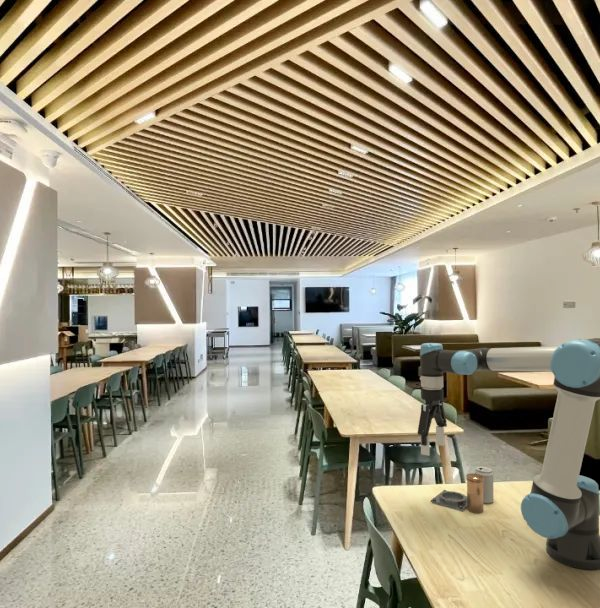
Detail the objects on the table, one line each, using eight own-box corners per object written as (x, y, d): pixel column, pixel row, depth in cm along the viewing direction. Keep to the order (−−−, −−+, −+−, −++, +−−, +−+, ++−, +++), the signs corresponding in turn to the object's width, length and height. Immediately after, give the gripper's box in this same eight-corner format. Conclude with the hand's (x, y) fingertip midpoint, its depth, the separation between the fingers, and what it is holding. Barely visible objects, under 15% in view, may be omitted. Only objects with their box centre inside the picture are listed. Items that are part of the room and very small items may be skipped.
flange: (474, 500, 173) (474, 495, 173) (462, 511, 163) (462, 505, 164) (443, 492, 180) (443, 487, 180) (430, 502, 171) (430, 497, 171)
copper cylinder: (486, 509, 165) (486, 475, 165) (480, 515, 161) (480, 480, 161) (470, 505, 169) (469, 472, 169) (464, 510, 164) (463, 476, 164)
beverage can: (478, 496, 177) (478, 464, 177) (495, 500, 173) (495, 468, 173) (472, 501, 172) (472, 469, 172) (490, 506, 168) (490, 473, 168)
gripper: (434, 382, 172) (435, 439, 171) (406, 392, 152) (407, 456, 152) (455, 384, 167) (456, 443, 167) (428, 394, 148) (429, 461, 147)
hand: (433, 449), depth 159 cm, fingers open, 13 cm apart
